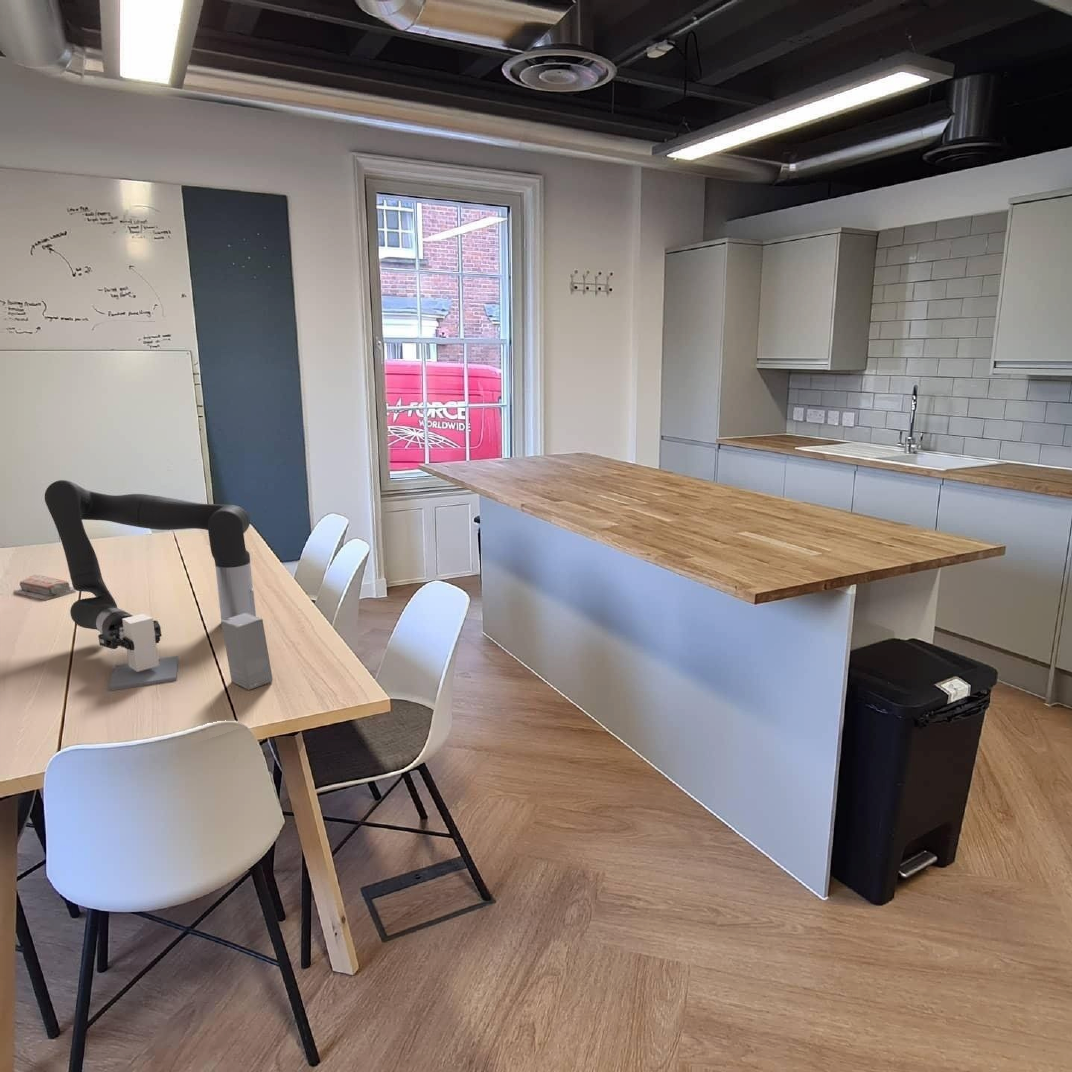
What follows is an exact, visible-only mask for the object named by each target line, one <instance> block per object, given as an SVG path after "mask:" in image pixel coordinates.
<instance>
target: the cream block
mask: <svg viewBox="0 0 1072 1072" xmlns="http://www.w3.org/2000/svg"><path fill="white" fill-rule="evenodd" d="M122 621H123V628H124V635H125V636H126V638H129V639H130V640H132V641H133V642H134V650H129V649H126V654H127V663H129V667H131V668H132V669H134V670H135V671H137V672H139V671H142V670H146V669H149V668H152V667H156V666H159V661H158V659H159V656H158V655H159V653H158V646H157V644H156V640H155V631H154V623H153V621H154V617H152V616H150V615H148V614H147V613H140V614H137V615H136V614H135V615H132V617H127V618H123V619H122Z"/></svg>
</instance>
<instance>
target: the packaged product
mask: <svg viewBox="0 0 1072 1072" xmlns="http://www.w3.org/2000/svg"><path fill="white" fill-rule="evenodd" d="M19 587H20V588H17V589H13V593H14V592H15V594H19V595H20V594H21V595H22V596H23V595H24V596H26V595H28V597H30V596H31V597H30V598H35V599H39V598H40V600H44V601H49V600H53V599H56V598H60V597H64V596H66V595H67V596H68V595H70V594H73V593H77V591H76V590H75V589H74V588H73V586H72V587H70V584H69V581H66V580H63V579H59V578H54V577H49V576H44V575H41V574H39V575H38V574H33V575H30V576H29V577H26V578H25V579H23V580H22V581H20V582H19ZM52 598H53V599H52Z"/></svg>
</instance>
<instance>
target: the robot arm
mask: <svg viewBox="0 0 1072 1072" xmlns="http://www.w3.org/2000/svg"><path fill="white" fill-rule="evenodd" d="M44 502H45V505H46V506H47V509H48V512H49V514H50V516H51V518H52V521H53V523H54V525H55V527H56V530H57V533H58V535H59V538H60V542H61V545H62V549H63V552H64V555H65V559H66V563H67V567H68V568H67V569H68V572H69V577H70V581H71V585H72V588H74V589H75V590H76V592H84V593H85V592H86V593H90V594H93V596H94V597H93V596H92V597H88V598H87V597H86V598H80V599H78V600H76V601H75V602H73V603H72V605H71V607H70V611H69V612H70V613H69V614H70V617H71V620H72V621H73V623H74V624H75V625H77V626H79V627H80V628H82V629H83V628H84V629H90V630H97V631H98V632H99V633H100V634H98V642H99V646H101V647H104V648H108V649H111V650H116V649H118V647H121V648H122V649H123V648H124V649H125V650H127V649H129V650H134V642H133V641H132V640H130V639H129V638H126V636H125V635H124V628H123V621H122V619H123V618H127V617H132V616H133V615H132V614H131V613H129V612H127V611H125V610H123V609H121V608H119V607H118V604H117V602H116V600H115V598H114V597H113V596H112V594H111V592H110V590H109V589H108V587H107V585H106V583H105V581H104V579H103V576H102V571H101V567H100V564H99V560H98V556H97V554H96V552H95V550H94V547H93V545H92V543H91V541H90V539H89V537H88V535H87V533H86V530H85V527H84V526H85V525H84V523H83V521H86V520H89V521H103V522H105V521H106V522H111V523H116V524H121V525H126V526H130V527H136V528H141V529H142V528H143V529H150V530H155V531H156V530H159V531H169V530H170V531H171V530H172V531H173V530H174V531H176V530H188V529H189V530H190V529H197V530H198V529H199V530H205V531H206V530H207V532H208V539H209V540H208V541H209V547H210V551H211V556H212V558H213V559H214V567H215V573H216V582H217V583H216V585H217V593H218V594H217V595H218V601H219V610H220V611H219V613H220V620H224V619H228V618H231V617H234V616H237V615H240V614H243V613H248V614H250V615H253V616H255V617H257V613H256V604H255V603H256V601H255V593H254V585H253V576H252V566H251V556H250V552H249V551H248V550H247V548H246V543H245V541H246V540H245V535H244V534H245V533H246V532H247V530H248V529H249V527H250V525H251V518H250V516H249V514H248V512H247V511H246V510H245V509H244V508H242V507H240V506H238V505H236V504H214V503H213V504H211V503H200V502H193V501H188V500H183V499H178V498H171V497H166V496H165V497H164V496H160V495H154V494H153V495H152V494H146V493H131V494H123V495H121V494H119V495H115V494H114V495H112V494H104V493H99V492H95V491H91V490H88V489H85V488H83V487H81V486H80V485H78V484H77V483H75V482H72V481H70V480H65V479H64V480H63V479H60V480H56V481H54V482H52V483H50V484H49V485H48V487H47V488H46V490H45V492H44ZM153 623H154V631H155V640H156V645H157V644H159V643H160V641H161V637H162V636H163V635H162V630H161V625H160V624H159V622H158V620H153Z"/></svg>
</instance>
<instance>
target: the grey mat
mask: <svg viewBox="0 0 1072 1072" xmlns="http://www.w3.org/2000/svg"><path fill="white" fill-rule="evenodd" d="M179 660H180V659H179V655H175V656H167V657H162V658H158V661H159V666H156V667H152V668H149V669H146V670H142V671H139V672H137V671H135V670H134V669H132V668H131V667H129V663H128V662H125V663H120V664H115V665H114V668H113V672H112V674H111V678H110V682H109V684H108V691H109V692H110V691H111V692H112V691H116V690H117V691H118V690H123V689H129V688H135V687H136V688H137V687H142V686H148V685H150V686H151V685H156V684H161V683H167V682H176V681H177V677H178V668H179Z"/></svg>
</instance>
